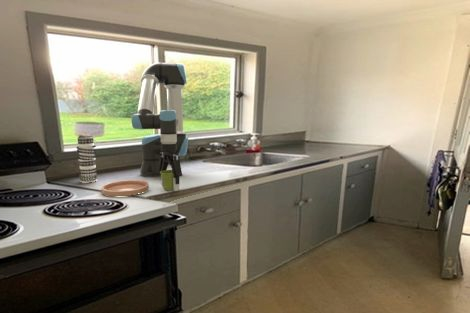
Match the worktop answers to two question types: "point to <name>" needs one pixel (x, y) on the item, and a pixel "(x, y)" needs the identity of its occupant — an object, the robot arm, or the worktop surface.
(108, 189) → the saucer
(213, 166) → the worktop surface
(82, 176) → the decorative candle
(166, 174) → the plant pot
